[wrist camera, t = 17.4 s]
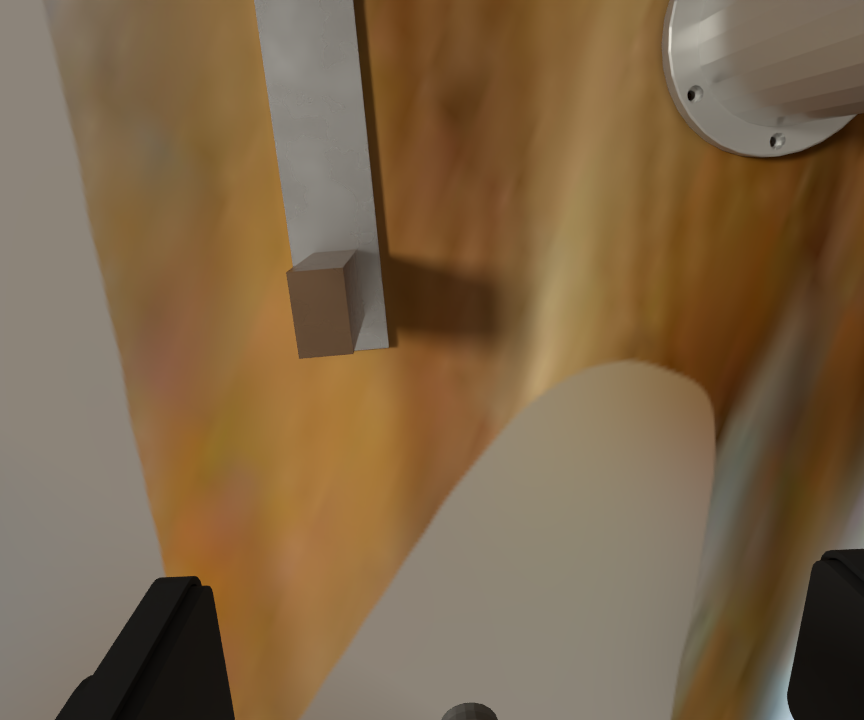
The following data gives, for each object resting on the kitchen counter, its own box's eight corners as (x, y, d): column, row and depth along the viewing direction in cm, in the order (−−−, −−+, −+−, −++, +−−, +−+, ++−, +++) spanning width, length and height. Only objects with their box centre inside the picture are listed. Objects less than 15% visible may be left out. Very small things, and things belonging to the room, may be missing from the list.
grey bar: (343, -95, 29) (319, -208, 21) (389, 344, 36) (384, 392, 28) (244, -88, 29) (180, -199, 21) (308, 351, 36) (278, 401, 27)
